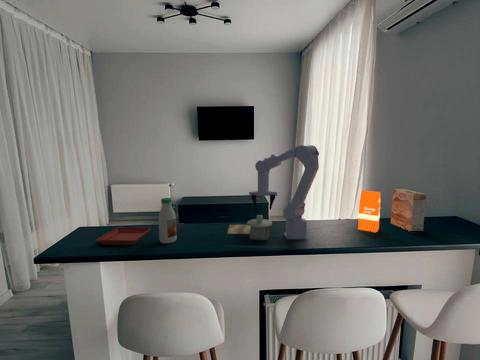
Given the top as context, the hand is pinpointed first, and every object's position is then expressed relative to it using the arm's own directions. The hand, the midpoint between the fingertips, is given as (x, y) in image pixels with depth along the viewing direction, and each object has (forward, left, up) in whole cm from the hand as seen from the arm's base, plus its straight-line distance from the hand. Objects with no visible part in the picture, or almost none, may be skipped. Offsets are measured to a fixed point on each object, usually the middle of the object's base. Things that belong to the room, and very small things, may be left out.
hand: (263, 209), depth 133 cm
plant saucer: (+66, +16, -11) cm, 69 cm away
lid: (+2, +16, -3) cm, 16 cm away
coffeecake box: (-76, -3, -11) cm, 77 cm away
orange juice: (-55, 0, -11) cm, 56 cm away
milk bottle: (+45, +18, -11) cm, 50 cm away
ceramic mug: (+2, +15, -11) cm, 19 cm away
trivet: (+11, +4, -10) cm, 16 cm away
